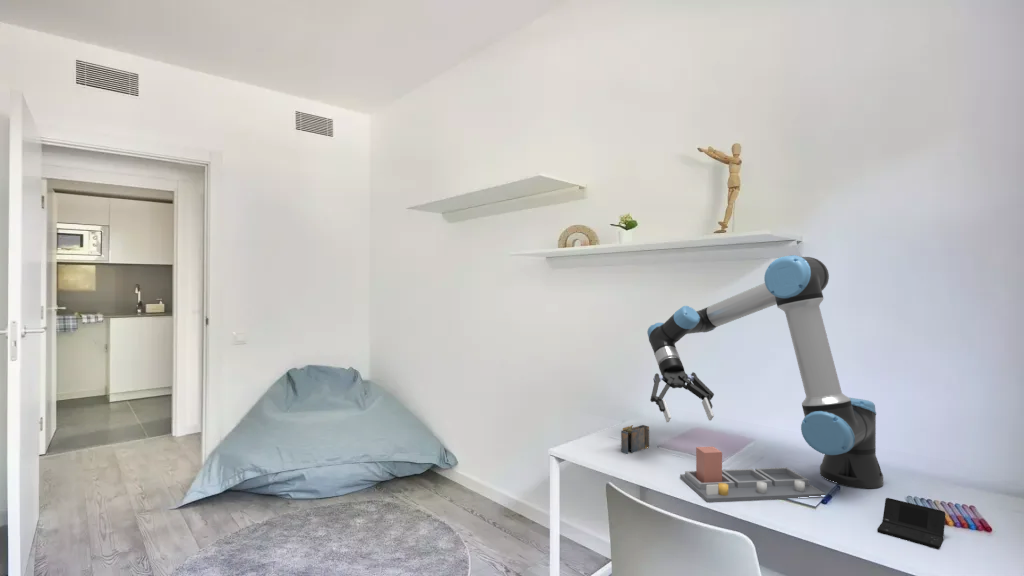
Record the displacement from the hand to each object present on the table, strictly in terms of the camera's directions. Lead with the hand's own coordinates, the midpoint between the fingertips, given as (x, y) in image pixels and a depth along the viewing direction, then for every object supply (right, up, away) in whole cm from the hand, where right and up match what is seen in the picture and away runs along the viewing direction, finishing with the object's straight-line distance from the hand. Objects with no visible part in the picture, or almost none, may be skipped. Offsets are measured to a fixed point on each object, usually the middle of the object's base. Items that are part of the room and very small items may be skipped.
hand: (690, 419), depth 159 cm
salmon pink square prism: (0, -14, -15) cm, 20 cm away
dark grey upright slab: (-13, -15, +16) cm, 26 cm away
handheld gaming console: (+34, -15, -43) cm, 57 cm away
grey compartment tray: (+11, -14, -16) cm, 24 cm away
